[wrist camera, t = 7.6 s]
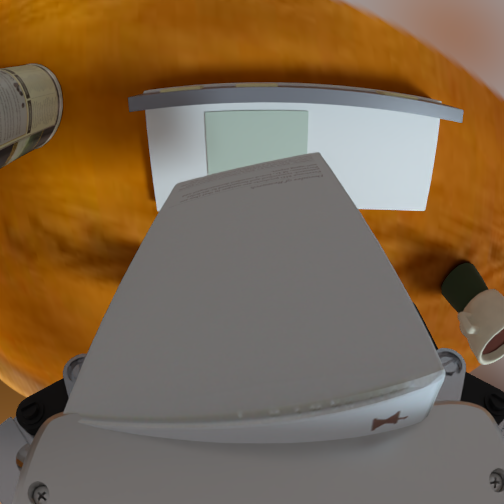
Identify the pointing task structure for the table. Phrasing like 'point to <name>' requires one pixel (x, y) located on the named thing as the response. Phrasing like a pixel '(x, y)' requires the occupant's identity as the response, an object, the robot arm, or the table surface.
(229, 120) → the shelf board
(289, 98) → the rail
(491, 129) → the table surface
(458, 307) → the character mug
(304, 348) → the supplement box
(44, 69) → the coffee can
